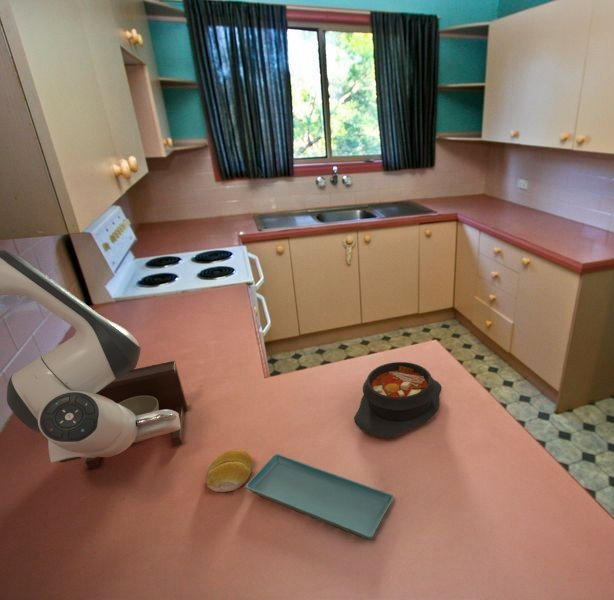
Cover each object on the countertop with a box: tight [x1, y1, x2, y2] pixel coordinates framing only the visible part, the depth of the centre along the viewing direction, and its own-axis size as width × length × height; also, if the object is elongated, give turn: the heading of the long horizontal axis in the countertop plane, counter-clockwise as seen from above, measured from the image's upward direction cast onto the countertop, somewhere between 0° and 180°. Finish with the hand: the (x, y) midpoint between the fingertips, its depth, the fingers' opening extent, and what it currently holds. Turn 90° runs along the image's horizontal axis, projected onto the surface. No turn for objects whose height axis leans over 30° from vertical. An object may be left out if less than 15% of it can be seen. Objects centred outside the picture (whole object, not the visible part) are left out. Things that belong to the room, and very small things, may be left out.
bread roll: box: [205, 449, 254, 493], centre depth 82 cm, size 8×9×4 cm
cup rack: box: [85, 360, 189, 470], centre depth 92 cm, size 14×19×13 cm
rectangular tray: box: [244, 453, 395, 540], centre depth 77 cm, size 26×9×2 cm, turn 66°
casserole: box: [353, 361, 442, 439], centre depth 99 cm, size 25×19×8 cm
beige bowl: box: [118, 396, 159, 444], centre depth 93 cm, size 10×10×7 cm
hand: (131, 438), depth 87 cm, fingers closed
